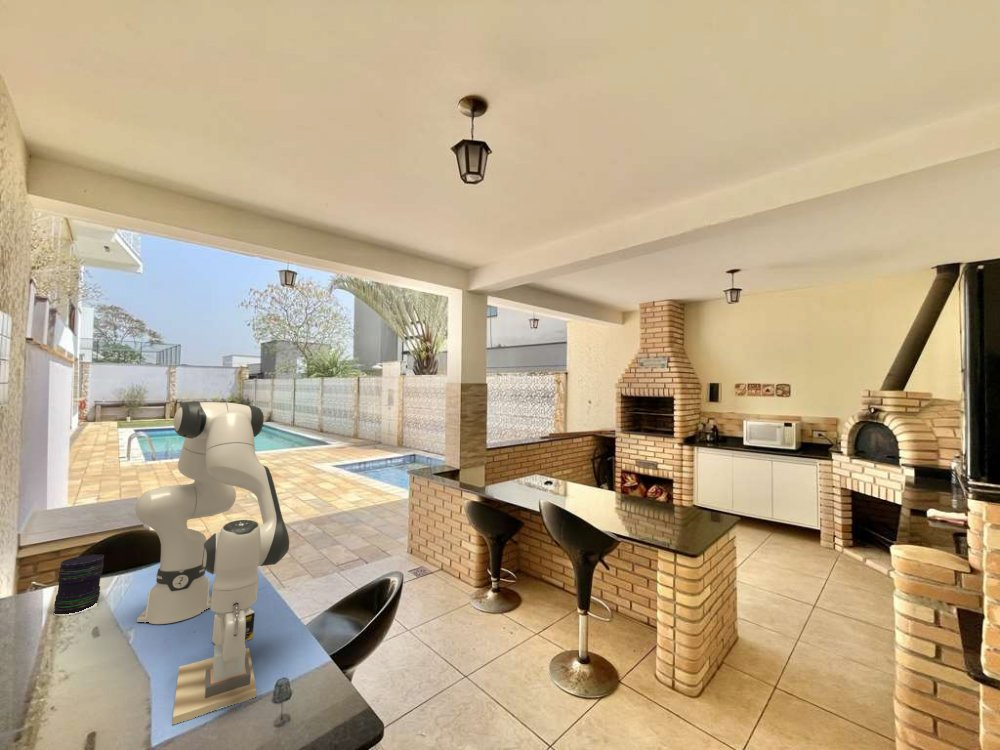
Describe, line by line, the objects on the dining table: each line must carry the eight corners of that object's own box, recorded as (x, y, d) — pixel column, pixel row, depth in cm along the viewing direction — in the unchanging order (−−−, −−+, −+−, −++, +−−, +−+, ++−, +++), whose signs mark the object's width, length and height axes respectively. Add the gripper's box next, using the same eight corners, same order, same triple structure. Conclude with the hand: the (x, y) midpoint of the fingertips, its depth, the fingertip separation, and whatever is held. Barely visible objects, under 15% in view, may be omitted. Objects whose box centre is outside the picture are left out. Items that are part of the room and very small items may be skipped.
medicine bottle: (224, 650, 103) (228, 601, 104) (211, 642, 107) (215, 595, 108) (253, 638, 109) (256, 592, 111) (240, 631, 113) (243, 586, 114)
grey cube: (212, 669, 89) (214, 645, 90) (242, 660, 93) (244, 637, 93) (212, 682, 85) (215, 657, 85) (243, 673, 88) (245, 648, 89)
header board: (178, 673, 93) (181, 643, 94) (248, 654, 102) (250, 626, 102) (172, 725, 77) (175, 688, 78) (255, 697, 86) (258, 664, 86)
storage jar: (107, 603, 130) (113, 555, 132) (72, 617, 120) (79, 565, 122) (80, 601, 131) (86, 553, 132) (43, 615, 121) (50, 563, 123)
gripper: (255, 609, 84) (249, 681, 82) (247, 579, 101) (242, 638, 99) (219, 618, 81) (212, 692, 79) (217, 585, 97) (211, 646, 95)
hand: (229, 662), depth 89 cm, fingers closed on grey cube, 6 cm apart
